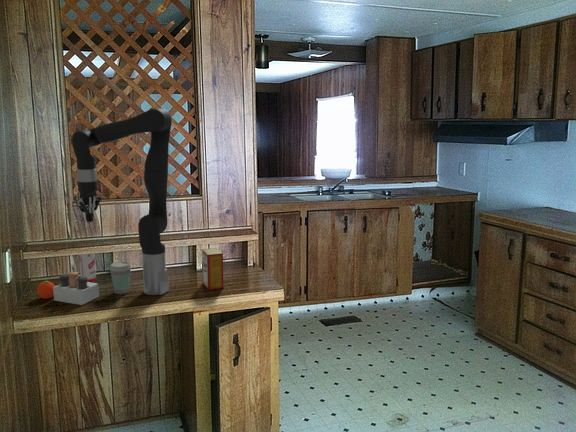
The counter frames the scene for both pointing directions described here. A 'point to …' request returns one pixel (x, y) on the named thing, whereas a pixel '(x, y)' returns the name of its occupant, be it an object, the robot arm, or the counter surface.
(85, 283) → the black plug
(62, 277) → the black plug
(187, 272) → the counter surface
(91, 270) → the white red carton
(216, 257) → the baking soda box
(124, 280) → the coffee cup
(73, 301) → the block
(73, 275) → the terracotta plug
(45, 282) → the clementine
